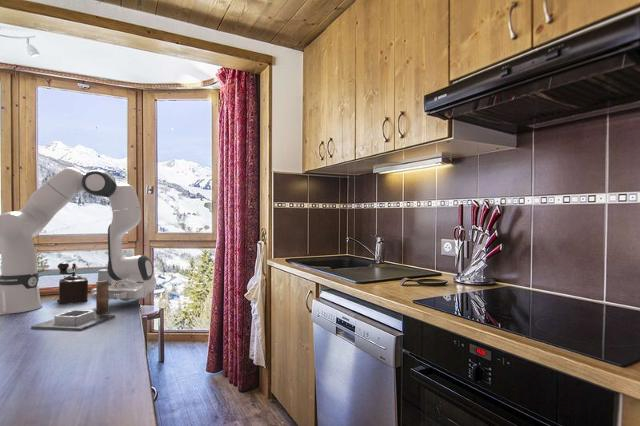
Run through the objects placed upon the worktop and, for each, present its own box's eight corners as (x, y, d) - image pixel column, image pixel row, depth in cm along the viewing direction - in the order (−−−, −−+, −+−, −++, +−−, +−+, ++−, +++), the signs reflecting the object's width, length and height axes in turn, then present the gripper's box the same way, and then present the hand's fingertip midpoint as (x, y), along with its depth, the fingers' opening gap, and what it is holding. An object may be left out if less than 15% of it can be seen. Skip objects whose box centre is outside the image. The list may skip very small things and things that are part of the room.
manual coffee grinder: (56, 300, 160) (57, 259, 161) (86, 297, 167) (86, 258, 167) (57, 307, 148) (57, 263, 148) (89, 303, 154) (89, 261, 155)
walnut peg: (93, 314, 137) (93, 282, 138) (101, 311, 141) (101, 280, 141) (103, 314, 137) (103, 282, 137) (110, 311, 141) (110, 280, 141)
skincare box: (96, 296, 168) (97, 270, 168) (101, 294, 172) (101, 269, 172) (111, 296, 169) (111, 270, 169) (115, 294, 173) (115, 268, 173)
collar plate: (31, 328, 119) (31, 318, 119) (70, 315, 135) (70, 306, 135) (80, 330, 117) (80, 320, 117) (115, 317, 133) (115, 308, 133)
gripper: (105, 281, 155) (79, 287, 142) (149, 282, 153) (128, 289, 139) (105, 296, 155) (79, 304, 142) (149, 297, 153) (128, 305, 139)
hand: (104, 296), depth 140 cm, fingers open, 8 cm apart
